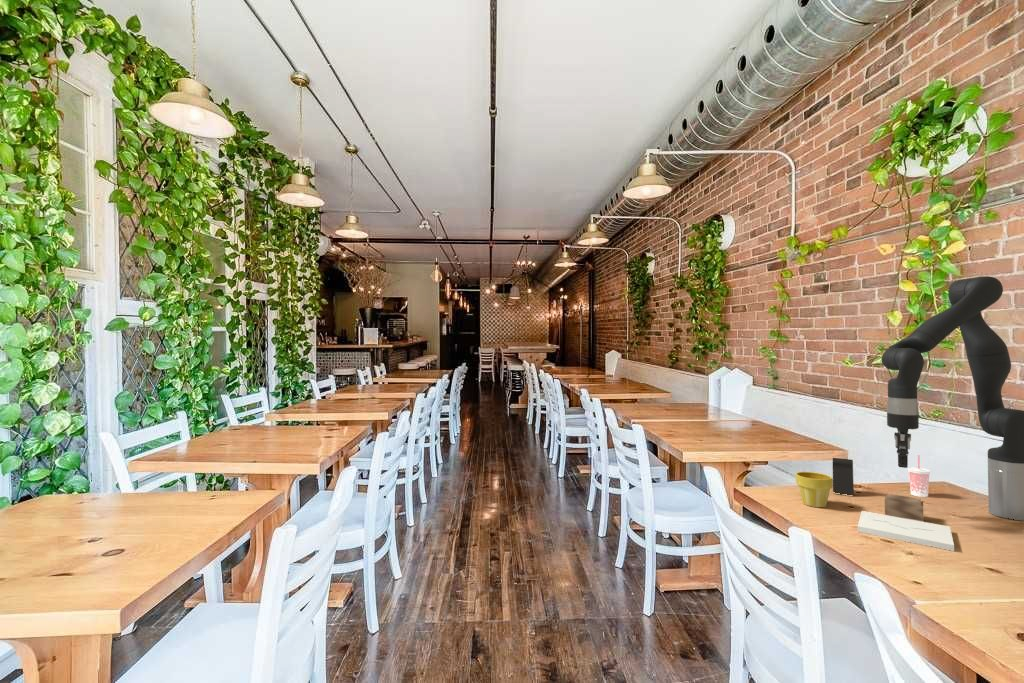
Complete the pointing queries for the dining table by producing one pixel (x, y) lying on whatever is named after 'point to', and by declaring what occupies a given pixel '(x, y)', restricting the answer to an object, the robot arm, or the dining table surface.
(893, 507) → the block
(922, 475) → the beverage cup
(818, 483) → the plant pot
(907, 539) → the board
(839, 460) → the phone stand
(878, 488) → the dining table surface
